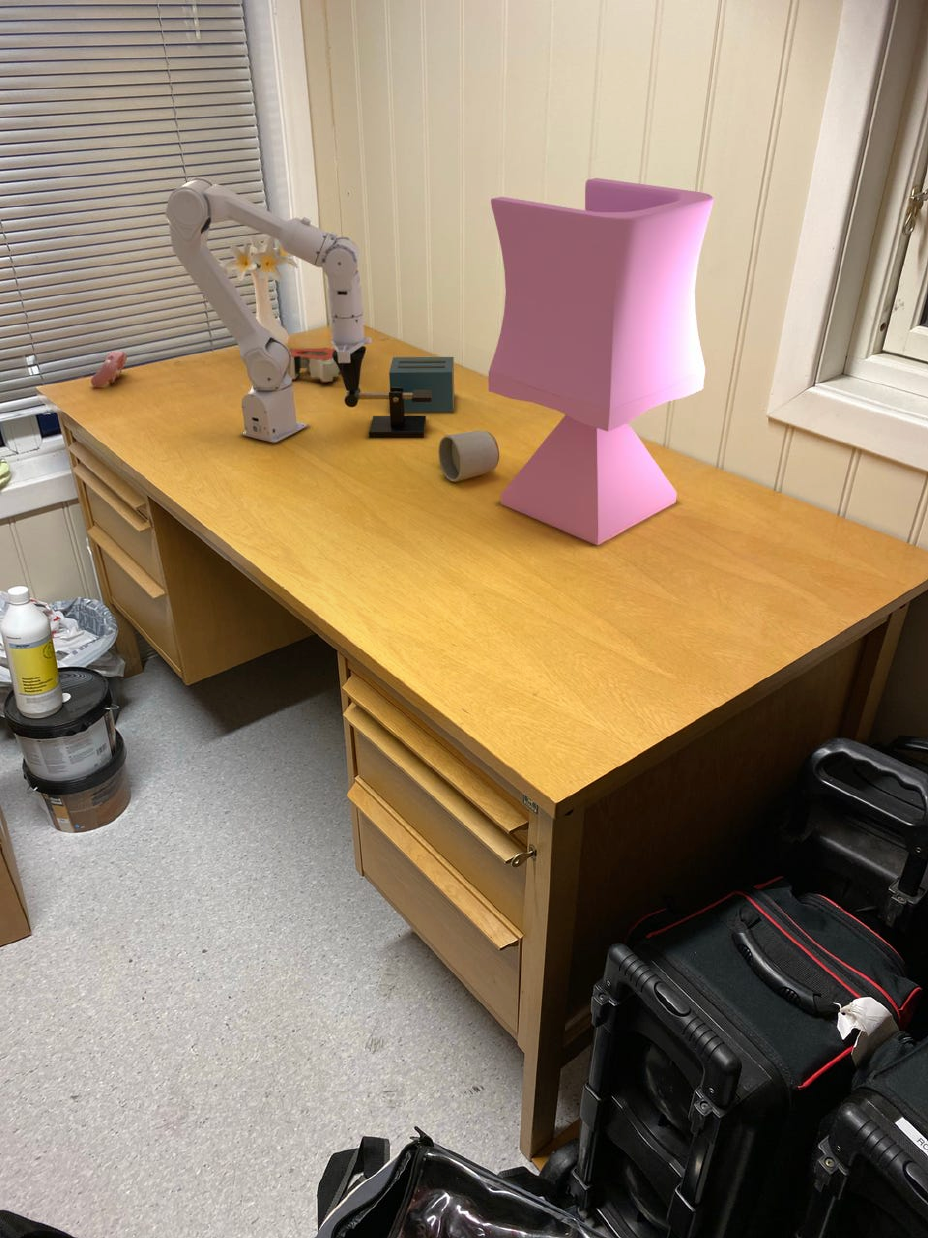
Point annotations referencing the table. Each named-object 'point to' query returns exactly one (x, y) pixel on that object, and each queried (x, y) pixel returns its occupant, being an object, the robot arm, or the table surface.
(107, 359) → the pink lumpy figure
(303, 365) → the red grey lobed slab
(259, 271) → the flower vase
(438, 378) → the toaster
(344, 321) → the robot arm
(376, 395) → the lever
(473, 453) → the ceramic mug
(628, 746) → the table surface
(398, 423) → the bracket
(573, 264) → the pink tall piece
